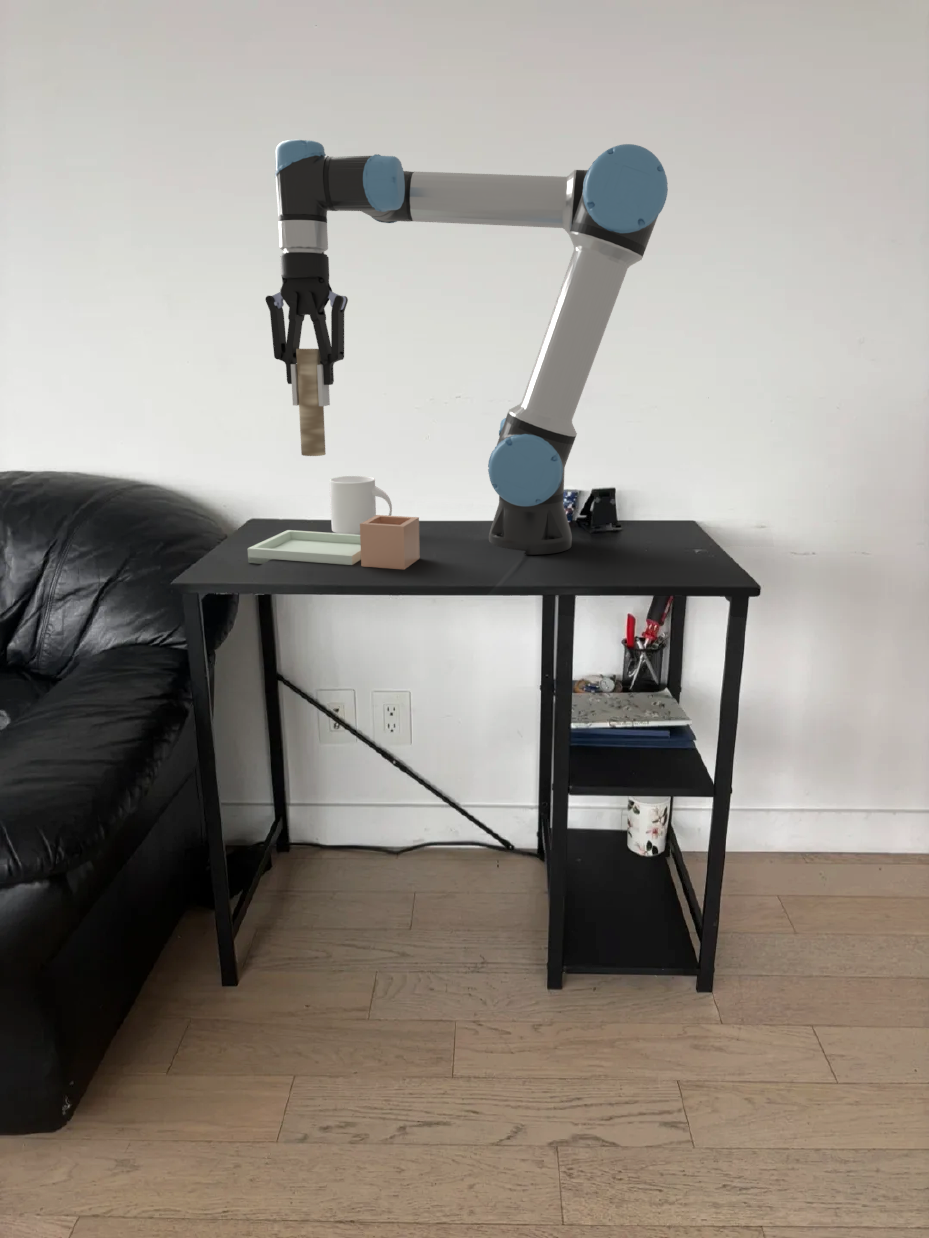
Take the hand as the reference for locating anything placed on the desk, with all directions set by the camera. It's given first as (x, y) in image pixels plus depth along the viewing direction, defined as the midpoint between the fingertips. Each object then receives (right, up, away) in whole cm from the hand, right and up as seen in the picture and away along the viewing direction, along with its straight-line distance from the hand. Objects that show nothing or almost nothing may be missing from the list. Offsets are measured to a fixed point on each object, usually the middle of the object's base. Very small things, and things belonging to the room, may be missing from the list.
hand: (311, 405), depth 145 cm
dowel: (0, -8, +3) cm, 8 cm away
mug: (+6, -19, +25) cm, 32 cm away
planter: (+13, -27, +1) cm, 30 cm away
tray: (0, -24, +8) cm, 26 cm away
